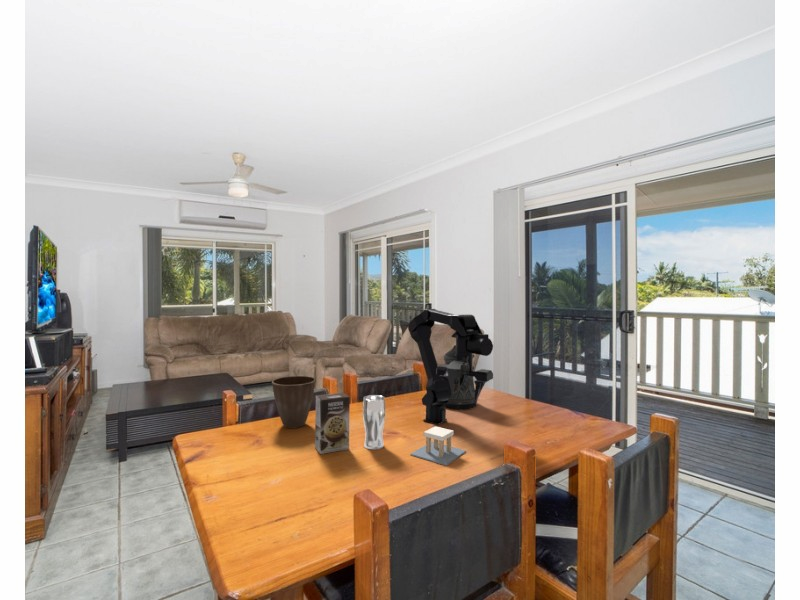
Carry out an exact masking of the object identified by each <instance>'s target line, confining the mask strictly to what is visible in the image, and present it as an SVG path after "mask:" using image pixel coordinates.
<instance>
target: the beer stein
mask: <svg viewBox="0 0 800 600" xmlns="http://www.w3.org/2000/svg"><path fill="white" fill-rule="evenodd" d="M454 355H456V344H455V345H453V346H452V348H451V349H449V351H447V352H446V353H445V354H444V355H443V361H444V364H446V365H449V364H450V363H451V362H453V357H454ZM474 381H475V380H474V377H473V376H466V375H462V377H460V378H456V377H454V391H453V396H450V398H449V402H448V404H444V405H445V409H448V410H454V411H466V410H467V411H468V410H472V409H475V408H476V407H477V403H478V399H477V400H475V382H474Z"/></svg>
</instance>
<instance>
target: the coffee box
mask: <svg viewBox="0 0 800 600" xmlns="http://www.w3.org/2000/svg"><path fill="white" fill-rule="evenodd" d="M350 398H351V397H350V396H349V395H347V394H346V393H344V392H337V393H328V394H318V395H315V421H314V422H315V423H314V425H315V427H314V448H315V449H316V450H317V452H318V453H319V454H320V455H323V454H328V453H334V452H340V451H347V450H350V408H351V407H350V404H351V403H350V402H351V401H350V400H351V399H350Z"/></svg>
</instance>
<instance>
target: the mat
mask: <svg viewBox="0 0 800 600" xmlns="http://www.w3.org/2000/svg"><path fill="white" fill-rule="evenodd" d="M446 451H447V444H444V456H443V457H439V442H438V448H437V449H435V448H434V441H431V453H426V444H424V445H423V446H422V447H419V448H418V449H416V450H415V451H413V452H411V453H410V456H413V457H416V458H419V459H423V460H427V461H428V462H432V463H436V464H439V465H442V466H445V467H446V466H448V465H450V464H452V462H454V461H455V460H457V459H458V458H460V457H461V456H463V455H464V454H465V453H466V452H467V450H466V449H462V448H457V447H455V446H451V452H446Z"/></svg>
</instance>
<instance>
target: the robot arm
mask: <svg viewBox="0 0 800 600" xmlns="http://www.w3.org/2000/svg"><path fill="white" fill-rule="evenodd" d="M436 323H440V324H443V325H446V326H449V327H450V329H451V330H453V331H454V333H452V335H451V338H455V345H456V355H454V357H453V362H451V363H450V364H449V365H446V364H445V363H444V364H441V365H438V362H437V359H436V355H435V353H434V349H433V345H432V343H431V336H432V333H433V332H432V328H433V327H434V326H435V324H436ZM407 329H408V332H409V335H410V337H411V338H412V340H413V341H415V343H416V344H417V347H418V350H419V353H420V358H421V361H422V365H423V368H424V371H425V374H426V378H427V381H426V386H425V391H426V393H425V394H424V395H423V396H422V398H421V404H422V406H425V418H424V419H423V422H425V423H430V424H435V425H440V424H442V423H444V422H446V421H447V417H446V415H447V413H446V412H447V411H446V409H447V408H445V405H444V404H448V402H449V398H450V396H453V391H454V377H456V378H460V377H462V375H466V376H473V378H475V380H473V381H474V387H475V400H477V401H478V399H479V397H480V395H481V393H482V391H483V388H484V386H485V384H486V383H487V382H490V381H491V380H494V372H493V370H491V369H485V368H482V369H479V370H478V369H477V370H475V366H473V365H474V364H473V362H474V358H475V355H479V356H485V357H487V356H490V355H491V354H492V352H493V348H494V344H493V341H492V340H491V338H489V334H487V333H483V332H482V329H481V328H480V326H479V324H478V322H477V320H476V317H475V315H473V314H453V313H449V312H447V311H443V310H438V309H435V308H425V309H424V310H422V312H421V313H419V314H418V315H416V316H414V317H413V318H412V319H411V320H410V321H409V323H408V326H407Z"/></svg>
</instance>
